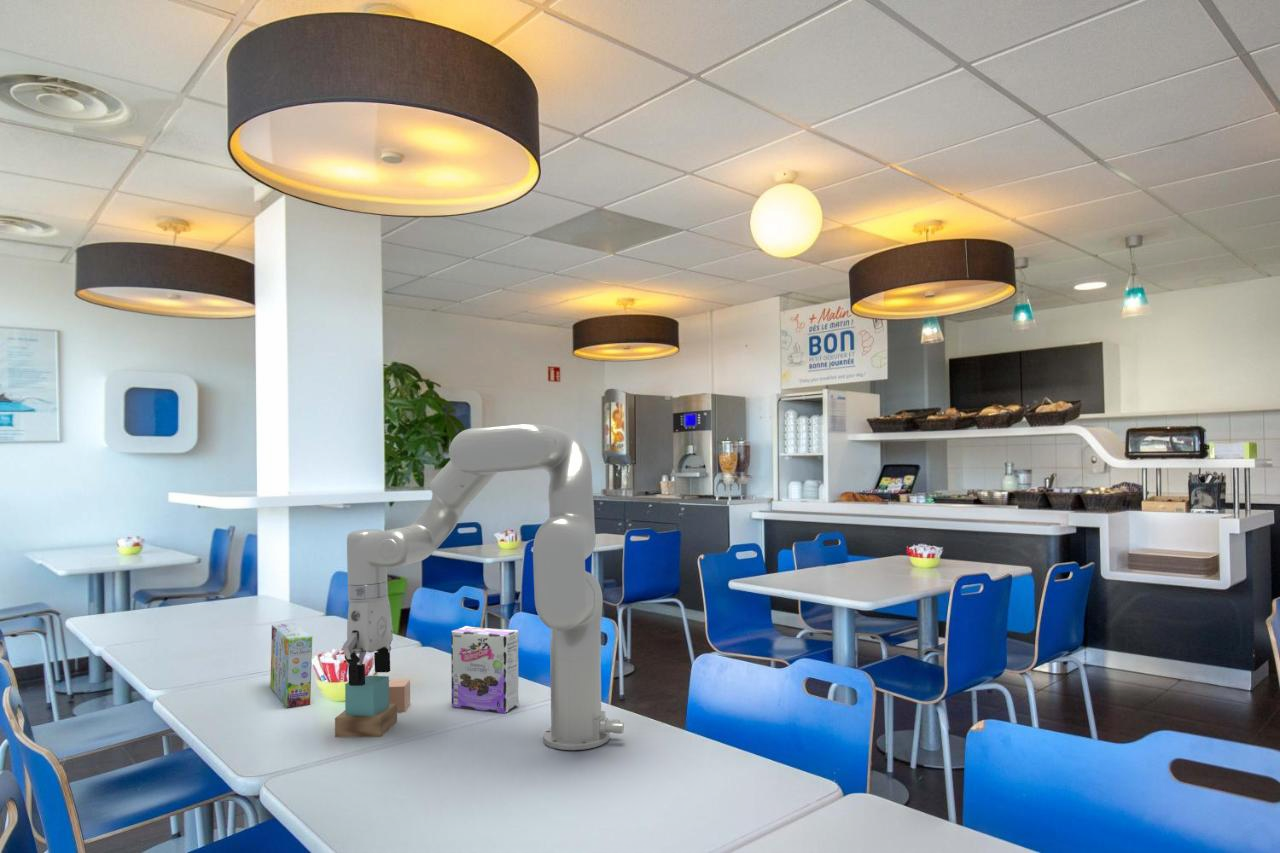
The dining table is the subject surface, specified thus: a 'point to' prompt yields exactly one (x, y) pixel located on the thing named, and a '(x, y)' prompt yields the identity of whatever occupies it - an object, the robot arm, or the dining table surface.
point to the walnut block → (366, 723)
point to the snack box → (291, 664)
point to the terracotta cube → (399, 694)
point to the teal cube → (367, 696)
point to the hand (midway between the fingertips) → (370, 678)
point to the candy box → (484, 669)
